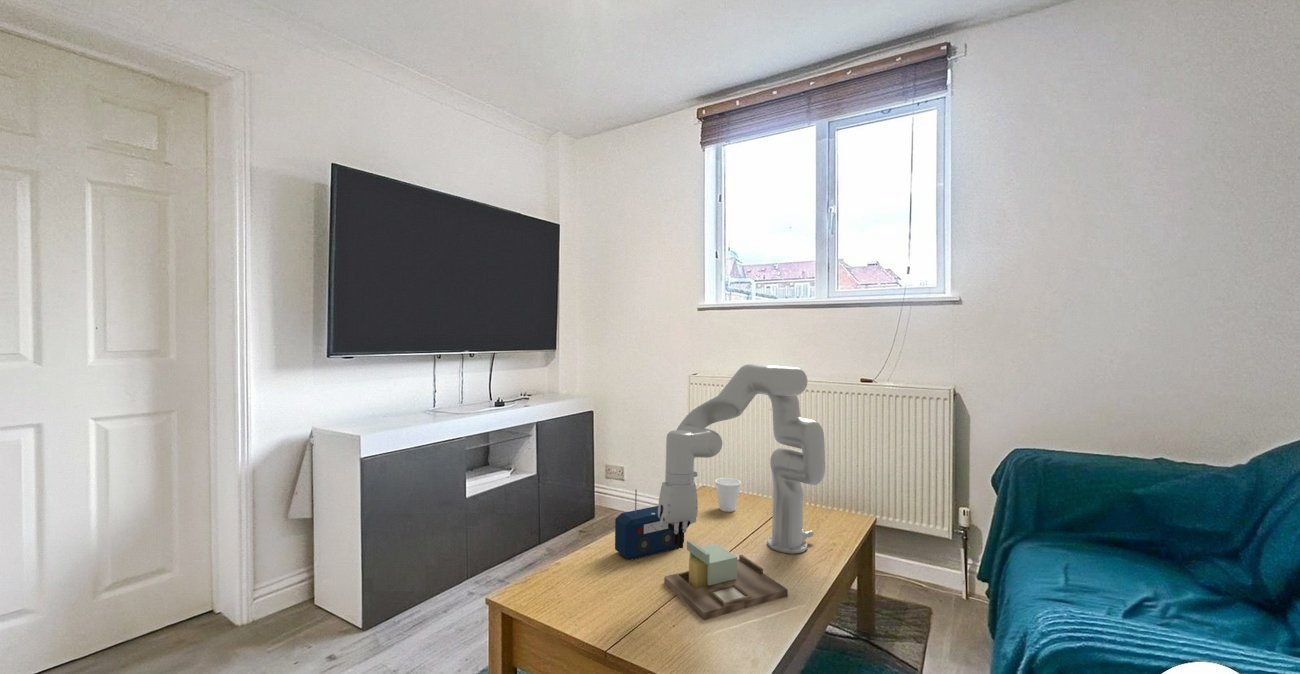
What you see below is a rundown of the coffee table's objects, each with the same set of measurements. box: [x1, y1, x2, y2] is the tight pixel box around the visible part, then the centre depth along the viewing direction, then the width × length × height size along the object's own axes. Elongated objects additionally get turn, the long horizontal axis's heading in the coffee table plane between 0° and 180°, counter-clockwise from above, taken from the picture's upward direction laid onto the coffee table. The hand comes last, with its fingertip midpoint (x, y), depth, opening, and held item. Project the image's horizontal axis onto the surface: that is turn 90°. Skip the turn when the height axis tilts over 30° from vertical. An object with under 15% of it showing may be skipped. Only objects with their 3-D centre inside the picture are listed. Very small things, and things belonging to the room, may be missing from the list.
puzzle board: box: [663, 554, 789, 621], centre depth 140 cm, size 26×20×3 cm
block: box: [688, 557, 709, 589], centre depth 142 cm, size 4×4×7 cm
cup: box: [714, 477, 742, 513], centre depth 202 cm, size 10×10×11 cm
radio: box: [614, 488, 676, 560], centre depth 164 cm, size 21×9×20 cm, turn 122°
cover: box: [686, 539, 738, 586], centre depth 144 cm, size 10×10×8 cm
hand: (677, 546), depth 138 cm, fingers closed
